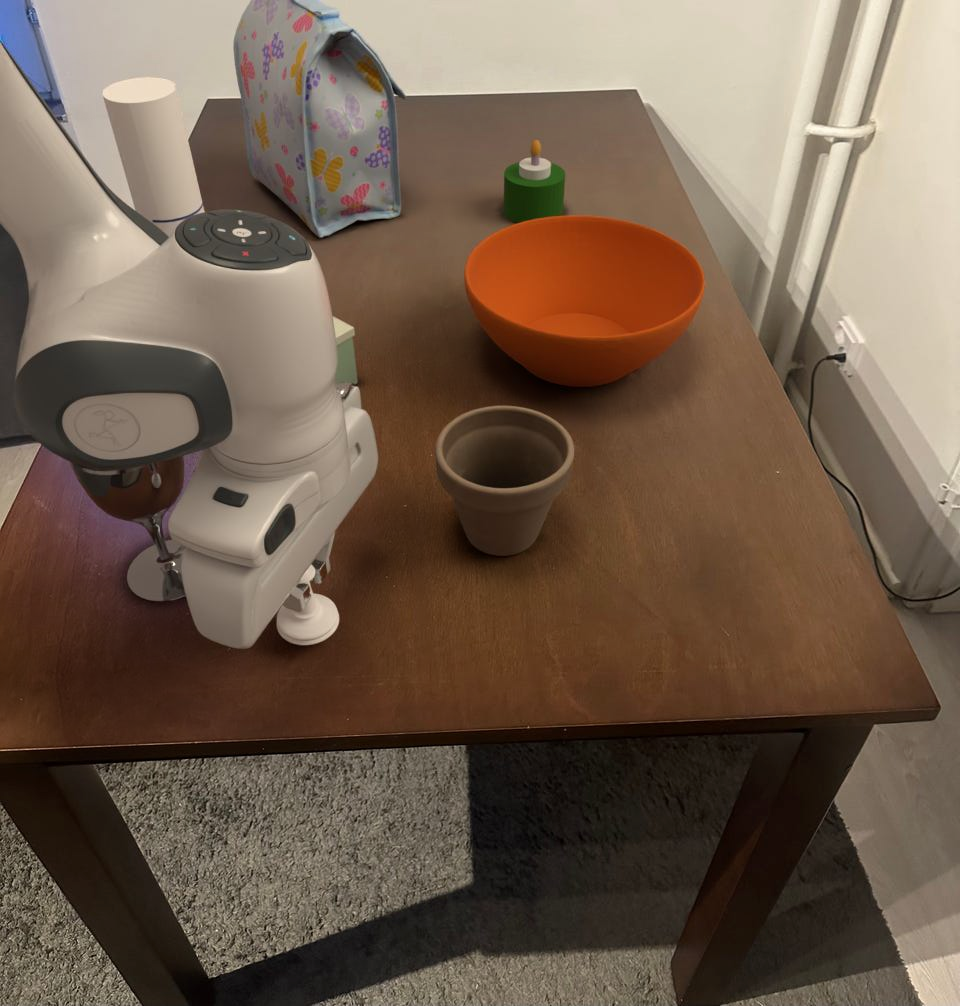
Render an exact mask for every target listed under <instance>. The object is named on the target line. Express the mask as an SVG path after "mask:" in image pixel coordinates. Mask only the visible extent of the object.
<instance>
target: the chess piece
mask: <svg viewBox="0 0 960 1006" xmlns="http://www.w3.org/2000/svg"><path fill="white" fill-rule="evenodd" d="M314 576H315V568H314V567H313V565H312V564H311V565H310V567H309V568H308V569H307V571H306V572H305V573H304V575H303V576H302V578H301V579H300V582H299V584H302V583H305V584H308V585H309V587H310V594H311V598H310V600H309V601H308V603H307V604H306V606H305V607H304V608H303V610H302V611H301V612H296V611H294V610H291V609H288V608H286V607H284V606H283V605H281V607H280V608H279V609H278V611H277V613H276V629H277V632H278V634H279V635H280V636H281V638H282V639H284V640H285V641H287V642H288V643H290V644H294V645H298V646H310V645H315V644H319V643H321V642H324V641H326V640H327V639H329V638H330V637H331V636H332V635H333V634H334V633H335V632H336V630H337V629H338V626H339V624H340V614H339V611H338V608H337V606H336V604H335V603H334V601H332V599H330V598H329V597H327V596H325V595H323V594H319V593H314V592H313V589H312V585H311V581H310V580H312V579H313V577H314Z"/></svg>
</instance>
